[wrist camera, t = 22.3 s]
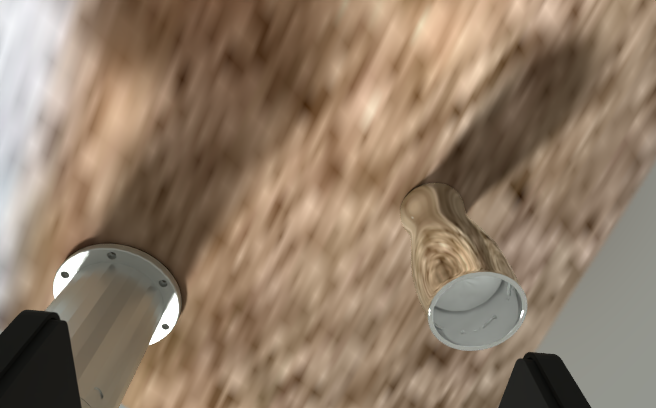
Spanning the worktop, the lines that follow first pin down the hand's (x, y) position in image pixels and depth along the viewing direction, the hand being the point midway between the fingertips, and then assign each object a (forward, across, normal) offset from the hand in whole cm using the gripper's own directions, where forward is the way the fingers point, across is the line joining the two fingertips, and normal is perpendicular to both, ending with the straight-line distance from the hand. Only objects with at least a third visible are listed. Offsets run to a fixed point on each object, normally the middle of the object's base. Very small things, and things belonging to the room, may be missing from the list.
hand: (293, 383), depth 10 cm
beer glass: (+32, -12, +11) cm, 36 cm away
